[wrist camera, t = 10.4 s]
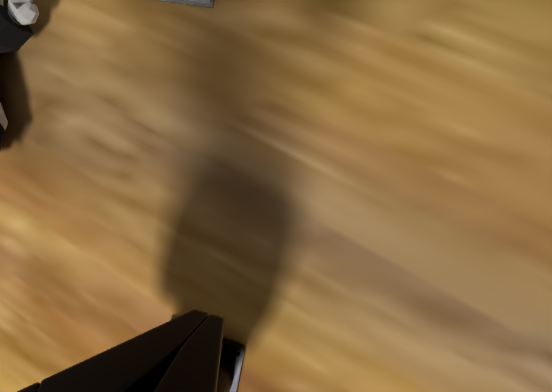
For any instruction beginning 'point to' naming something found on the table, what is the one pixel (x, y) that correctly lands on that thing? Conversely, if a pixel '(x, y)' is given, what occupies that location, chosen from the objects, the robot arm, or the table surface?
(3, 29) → the robot toy
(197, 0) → the scale strip
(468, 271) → the table surface
